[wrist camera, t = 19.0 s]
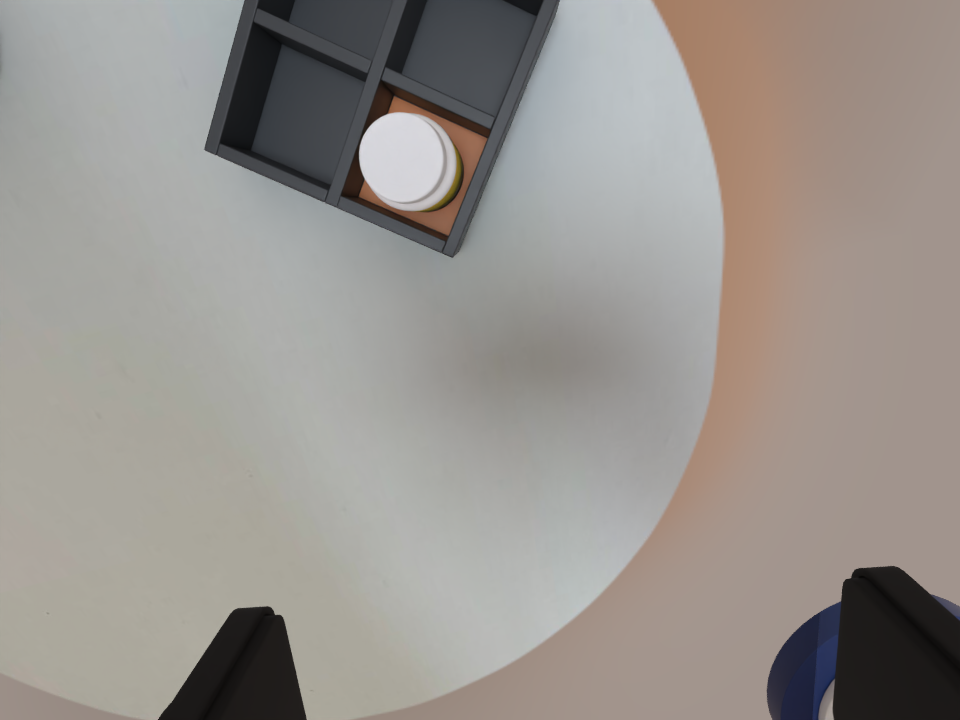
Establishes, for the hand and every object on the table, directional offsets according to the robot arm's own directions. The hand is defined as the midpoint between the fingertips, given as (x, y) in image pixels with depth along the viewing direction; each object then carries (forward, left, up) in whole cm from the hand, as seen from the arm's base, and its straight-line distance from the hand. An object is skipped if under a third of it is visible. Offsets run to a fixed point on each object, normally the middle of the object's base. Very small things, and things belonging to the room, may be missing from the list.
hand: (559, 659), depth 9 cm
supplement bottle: (+5, -10, -28) cm, 30 cm away
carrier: (+6, -15, -28) cm, 33 cm away
